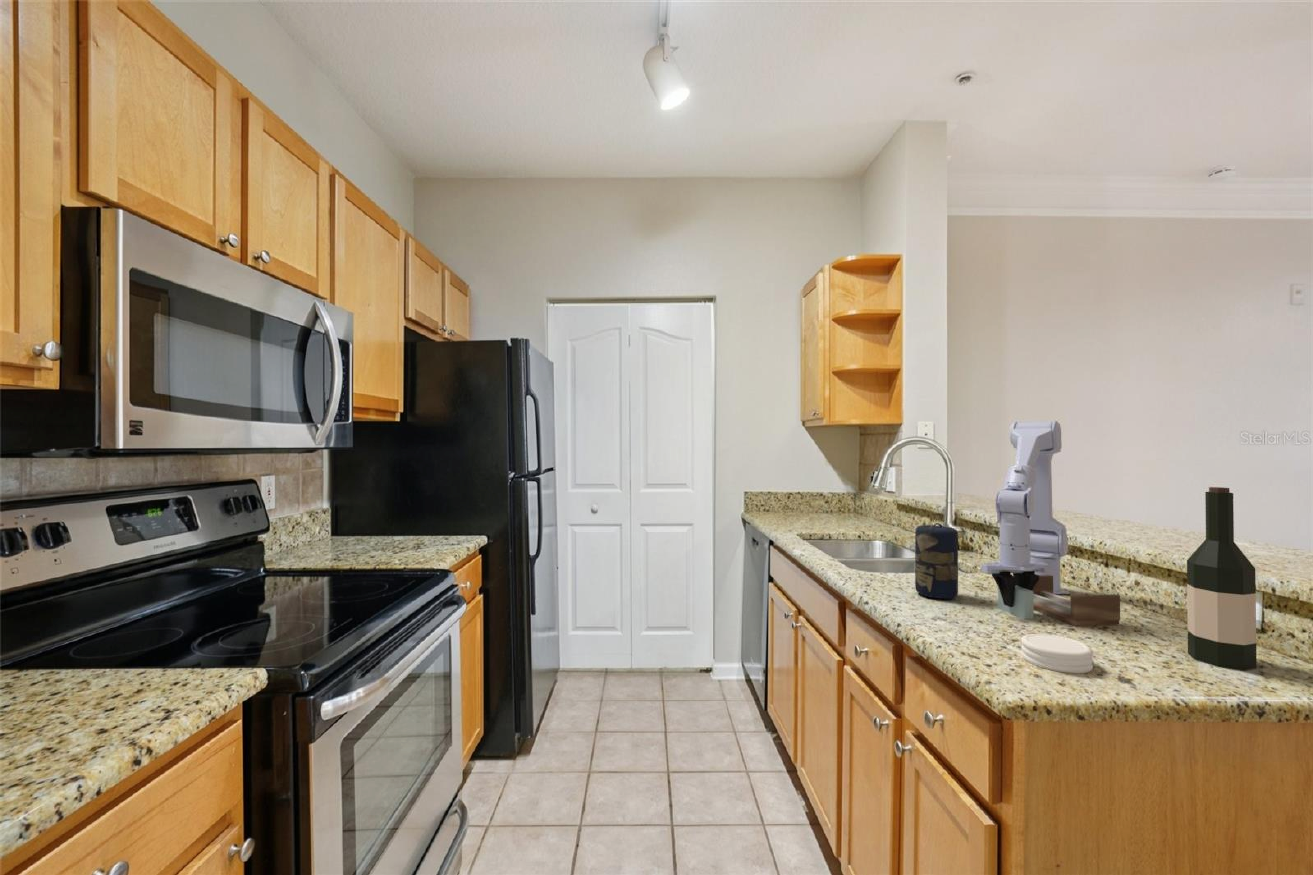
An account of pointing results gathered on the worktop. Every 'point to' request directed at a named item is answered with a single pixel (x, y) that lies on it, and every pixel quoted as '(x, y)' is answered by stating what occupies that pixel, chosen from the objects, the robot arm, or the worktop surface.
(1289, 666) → the worktop surface
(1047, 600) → the track base
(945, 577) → the canister
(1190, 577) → the wine bottle
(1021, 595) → the door panel
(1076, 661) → the coaster
